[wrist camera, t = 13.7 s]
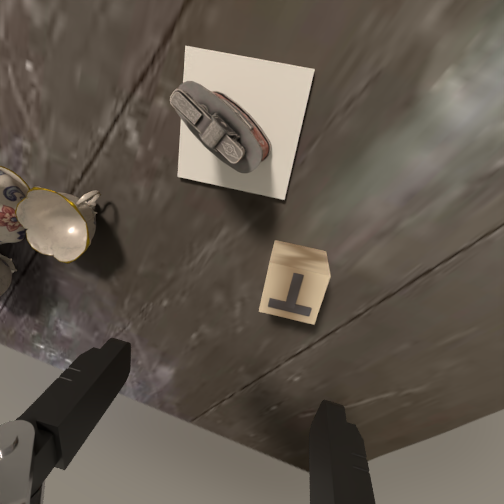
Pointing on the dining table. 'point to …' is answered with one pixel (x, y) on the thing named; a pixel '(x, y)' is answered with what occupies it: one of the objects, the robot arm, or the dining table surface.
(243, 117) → the lighter
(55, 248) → the chinaware
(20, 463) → the robot arm
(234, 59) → the pad
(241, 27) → the dining table surface
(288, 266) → the letter block
